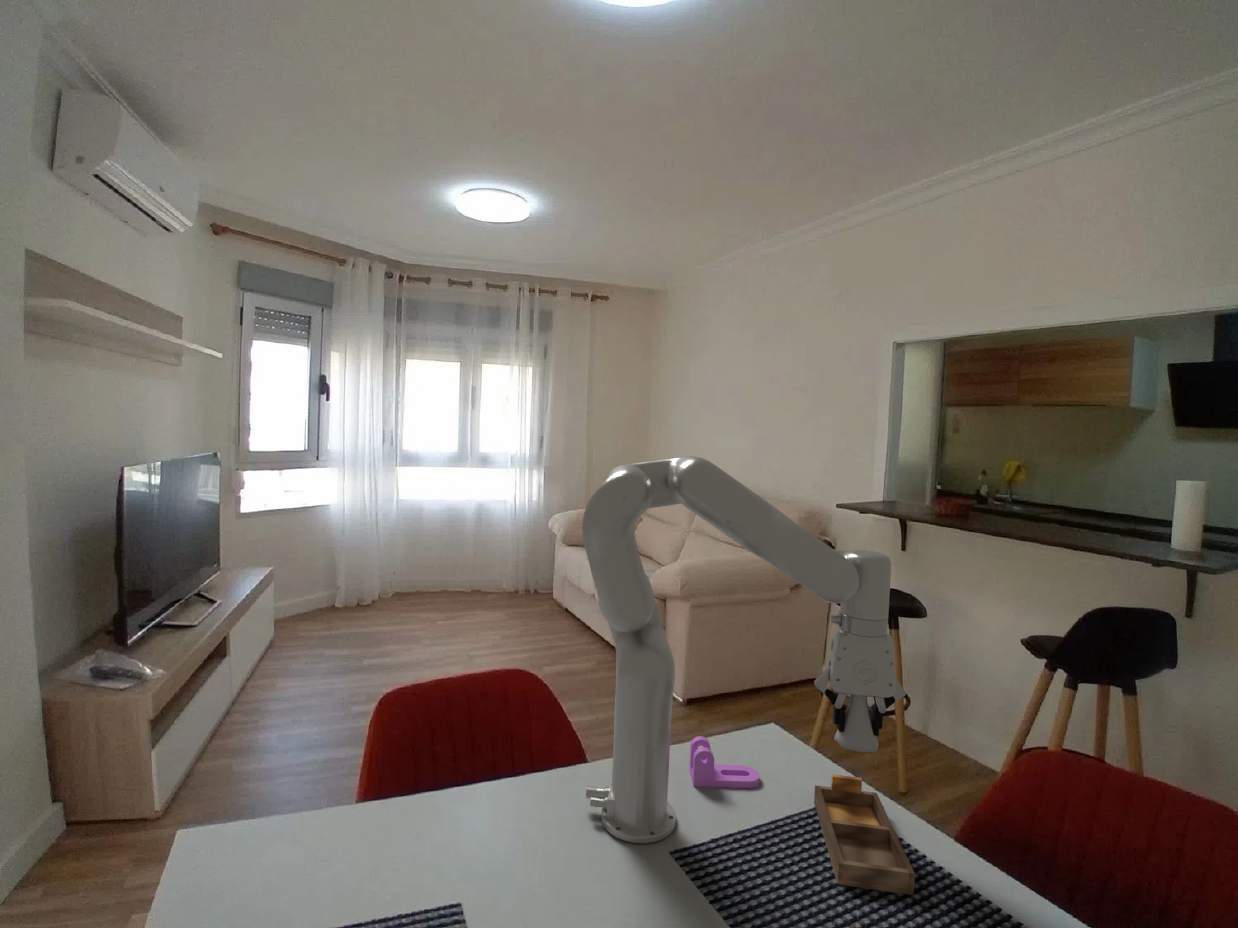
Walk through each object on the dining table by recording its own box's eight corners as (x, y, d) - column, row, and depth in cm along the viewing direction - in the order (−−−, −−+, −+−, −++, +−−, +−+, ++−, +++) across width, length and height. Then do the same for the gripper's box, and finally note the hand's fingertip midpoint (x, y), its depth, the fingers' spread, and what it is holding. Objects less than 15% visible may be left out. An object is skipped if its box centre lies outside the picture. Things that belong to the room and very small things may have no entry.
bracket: (693, 786, 113) (694, 750, 113) (689, 770, 119) (691, 735, 118) (762, 788, 113) (764, 752, 113) (755, 772, 119) (757, 737, 119)
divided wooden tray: (837, 884, 89) (839, 847, 89) (814, 802, 109) (815, 772, 109) (913, 894, 88) (916, 857, 87) (875, 810, 108) (877, 779, 108)
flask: (883, 756, 98) (887, 696, 98) (836, 750, 100) (840, 691, 100) (873, 735, 106) (877, 679, 105) (830, 730, 107) (833, 674, 107)
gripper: (814, 627, 99) (808, 735, 100) (924, 636, 97) (917, 747, 98) (807, 614, 107) (801, 714, 108) (909, 622, 104) (902, 725, 105)
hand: (856, 729), depth 103 cm, fingers closed on flask, 4 cm apart
